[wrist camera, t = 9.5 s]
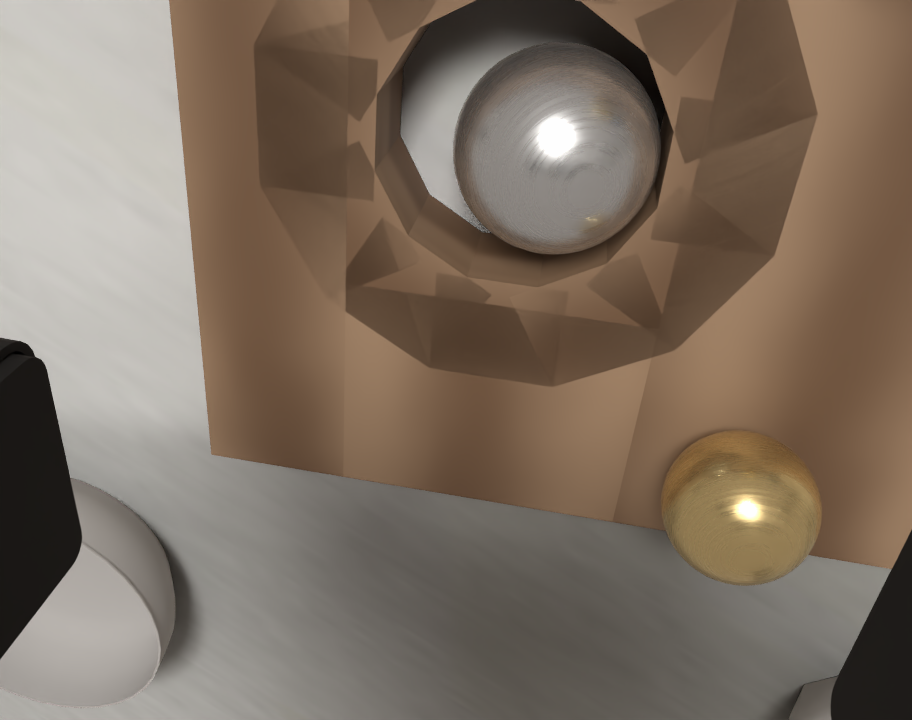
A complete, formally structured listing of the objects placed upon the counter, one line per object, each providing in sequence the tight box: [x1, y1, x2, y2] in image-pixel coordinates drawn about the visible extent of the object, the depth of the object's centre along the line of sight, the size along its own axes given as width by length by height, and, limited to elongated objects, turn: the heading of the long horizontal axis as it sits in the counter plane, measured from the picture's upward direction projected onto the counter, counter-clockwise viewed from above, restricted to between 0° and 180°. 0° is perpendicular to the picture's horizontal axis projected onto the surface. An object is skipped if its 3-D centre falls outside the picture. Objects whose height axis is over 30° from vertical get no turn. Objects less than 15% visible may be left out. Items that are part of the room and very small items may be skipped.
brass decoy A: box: [661, 430, 822, 586], centre depth 22 cm, size 4×4×4 cm
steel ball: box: [453, 42, 661, 254], centre depth 21 cm, size 5×5×5 cm
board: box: [169, 0, 912, 569], centre depth 21 cm, size 23×22×3 cm
